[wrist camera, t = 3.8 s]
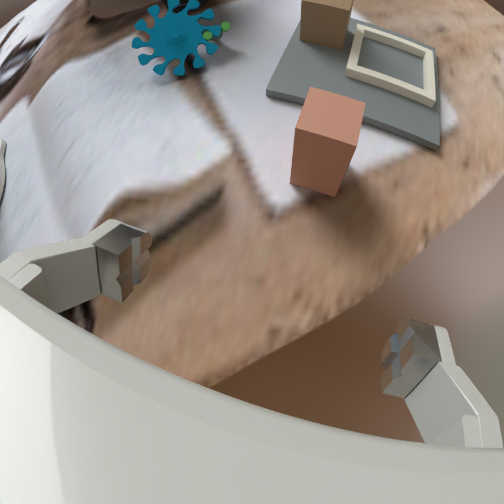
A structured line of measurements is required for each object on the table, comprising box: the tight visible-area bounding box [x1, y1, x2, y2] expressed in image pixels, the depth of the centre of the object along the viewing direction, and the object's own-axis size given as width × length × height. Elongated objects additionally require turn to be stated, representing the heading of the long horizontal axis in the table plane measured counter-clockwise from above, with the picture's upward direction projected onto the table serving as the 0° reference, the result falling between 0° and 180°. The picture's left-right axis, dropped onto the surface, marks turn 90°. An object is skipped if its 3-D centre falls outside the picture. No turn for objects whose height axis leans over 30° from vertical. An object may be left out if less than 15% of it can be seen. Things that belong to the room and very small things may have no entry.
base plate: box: [266, 0, 440, 151], centre depth 26 cm, size 18×18×7 cm
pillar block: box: [290, 87, 366, 197], centre depth 22 cm, size 4×4×8 cm
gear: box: [132, 0, 230, 76], centre depth 29 cm, size 11×6×10 cm
